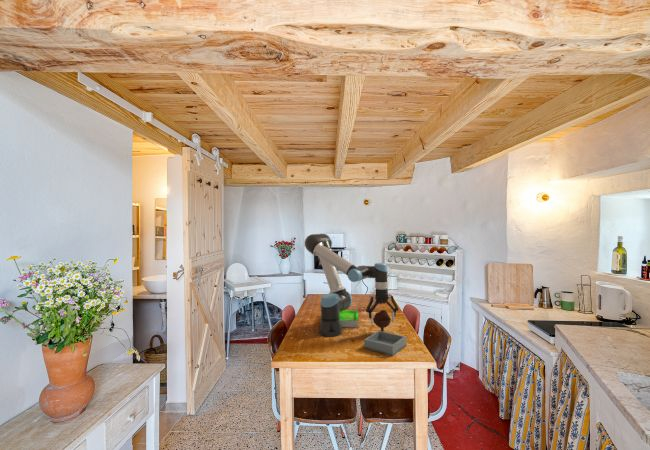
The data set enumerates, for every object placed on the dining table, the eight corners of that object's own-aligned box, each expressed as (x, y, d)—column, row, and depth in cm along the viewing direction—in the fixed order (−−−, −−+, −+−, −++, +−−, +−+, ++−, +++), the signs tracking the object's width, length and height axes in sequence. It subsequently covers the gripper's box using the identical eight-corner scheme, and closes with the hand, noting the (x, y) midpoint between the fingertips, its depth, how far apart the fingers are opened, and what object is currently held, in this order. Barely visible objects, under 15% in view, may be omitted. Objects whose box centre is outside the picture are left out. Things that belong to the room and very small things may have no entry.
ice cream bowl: (391, 331, 196) (391, 307, 196) (390, 338, 186) (389, 312, 186) (374, 330, 199) (374, 307, 199) (372, 336, 188) (372, 311, 188)
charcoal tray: (364, 348, 171) (364, 339, 171) (379, 339, 184) (379, 330, 184) (392, 356, 160) (392, 346, 160) (406, 345, 174) (406, 336, 174)
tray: (358, 317, 230) (358, 310, 230) (358, 328, 205) (358, 320, 205) (324, 316, 233) (324, 309, 233) (320, 327, 208) (320, 320, 208)
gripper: (363, 290, 187) (364, 326, 187) (403, 288, 190) (404, 323, 190) (360, 288, 194) (361, 322, 194) (398, 286, 197) (399, 319, 197)
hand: (382, 322), depth 192 cm, fingers open, 13 cm apart
